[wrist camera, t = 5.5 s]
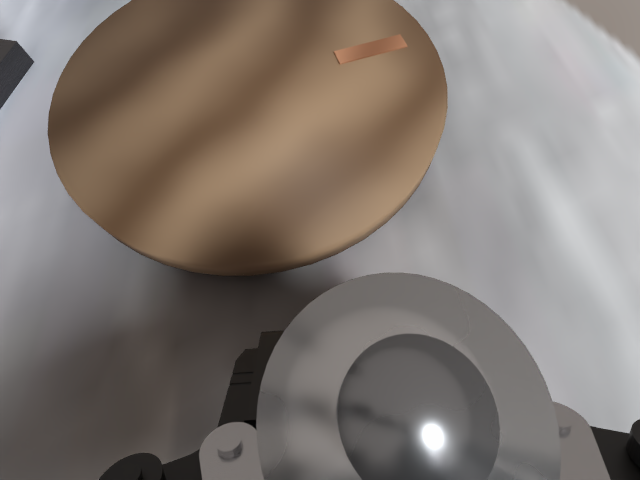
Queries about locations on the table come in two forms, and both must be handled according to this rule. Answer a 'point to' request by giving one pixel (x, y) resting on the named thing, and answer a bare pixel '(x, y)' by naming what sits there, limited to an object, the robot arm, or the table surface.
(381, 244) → the table surface
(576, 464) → the robot arm
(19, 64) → the stand
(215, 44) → the disc
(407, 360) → the cover
